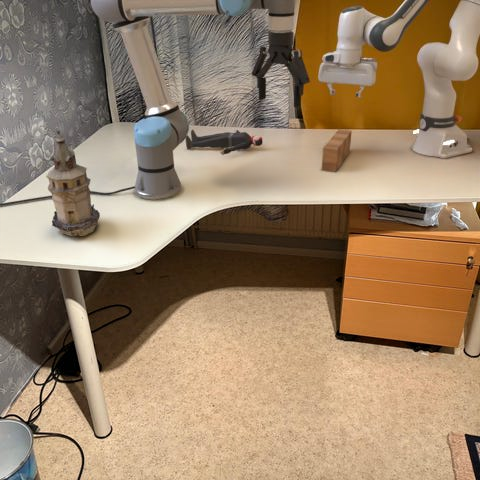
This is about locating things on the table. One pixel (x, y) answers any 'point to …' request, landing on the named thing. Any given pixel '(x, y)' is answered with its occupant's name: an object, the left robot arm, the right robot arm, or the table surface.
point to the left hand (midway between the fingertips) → (279, 102)
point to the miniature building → (70, 193)
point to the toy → (224, 141)
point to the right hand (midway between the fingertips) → (345, 96)
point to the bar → (336, 150)
